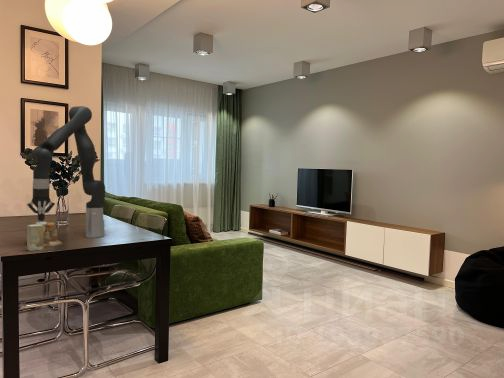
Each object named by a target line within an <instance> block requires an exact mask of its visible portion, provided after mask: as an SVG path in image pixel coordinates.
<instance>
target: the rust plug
mask: <svg viewBox="0 0 504 378" xmlns="http://www.w3.org/2000/svg"><path fill="white" fill-rule="evenodd" d="M54 226H55V222H50V221H49V222H47V224H46V225H45V229H46V231H49V230H53V228H54Z"/></svg>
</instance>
